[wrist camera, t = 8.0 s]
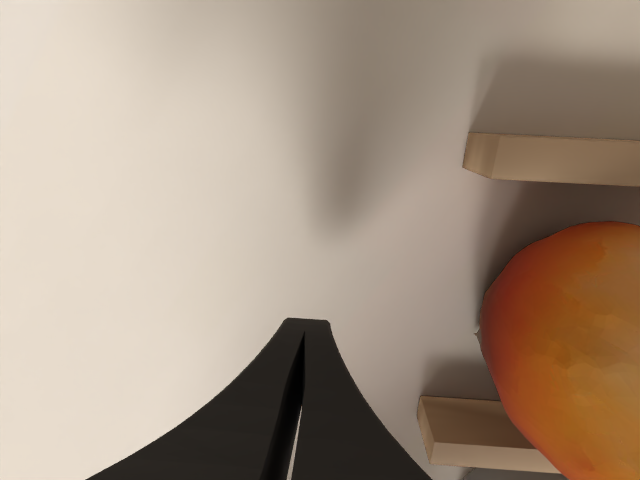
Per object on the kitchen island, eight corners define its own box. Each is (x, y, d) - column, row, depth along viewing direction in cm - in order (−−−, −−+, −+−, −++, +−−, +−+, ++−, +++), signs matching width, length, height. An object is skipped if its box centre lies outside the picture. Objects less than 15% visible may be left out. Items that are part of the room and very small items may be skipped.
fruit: (398, 385, 14) (593, 509, 6) (465, 217, 16) (683, 150, 8) (555, 462, 15) (888, 649, 7) (602, 297, 17) (912, 305, 9)
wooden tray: (596, 583, 20) (630, 643, 18) (388, 566, 20) (395, 623, 18) (827, 149, 12) (946, 157, 9) (468, 132, 12) (500, 136, 10)
